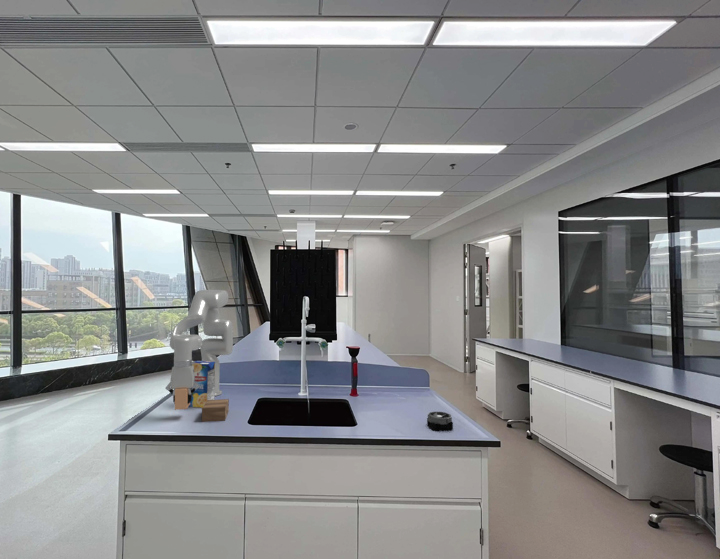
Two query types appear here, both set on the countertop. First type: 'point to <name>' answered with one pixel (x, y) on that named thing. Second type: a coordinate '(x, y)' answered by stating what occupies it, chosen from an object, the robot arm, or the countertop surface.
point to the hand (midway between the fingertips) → (182, 402)
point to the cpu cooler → (440, 421)
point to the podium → (215, 410)
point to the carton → (181, 399)
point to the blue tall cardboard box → (203, 383)
